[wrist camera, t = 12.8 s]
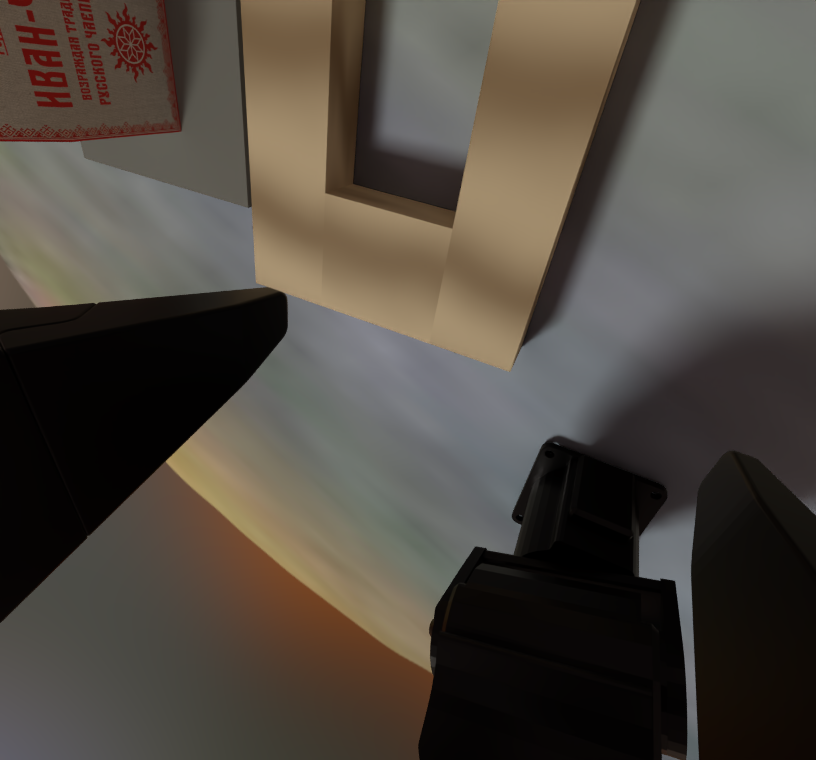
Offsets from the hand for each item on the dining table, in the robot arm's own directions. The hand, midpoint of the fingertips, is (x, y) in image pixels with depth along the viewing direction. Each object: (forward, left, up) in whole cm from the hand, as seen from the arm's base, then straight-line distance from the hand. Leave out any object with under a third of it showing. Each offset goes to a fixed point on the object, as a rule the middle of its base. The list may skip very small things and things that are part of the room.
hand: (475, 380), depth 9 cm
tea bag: (+3, +22, -13) cm, 25 cm away
